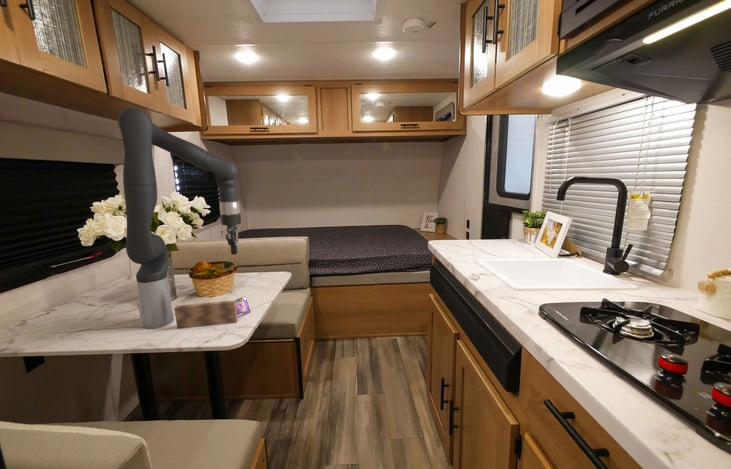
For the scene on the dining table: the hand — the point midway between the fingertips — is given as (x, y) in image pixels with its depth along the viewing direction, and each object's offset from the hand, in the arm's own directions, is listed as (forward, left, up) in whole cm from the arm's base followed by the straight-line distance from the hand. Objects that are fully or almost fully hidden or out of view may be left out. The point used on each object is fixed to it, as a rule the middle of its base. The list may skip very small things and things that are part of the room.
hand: (234, 254), depth 130 cm
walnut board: (-7, -19, -21) cm, 29 cm away
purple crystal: (+1, -13, -22) cm, 25 cm away
